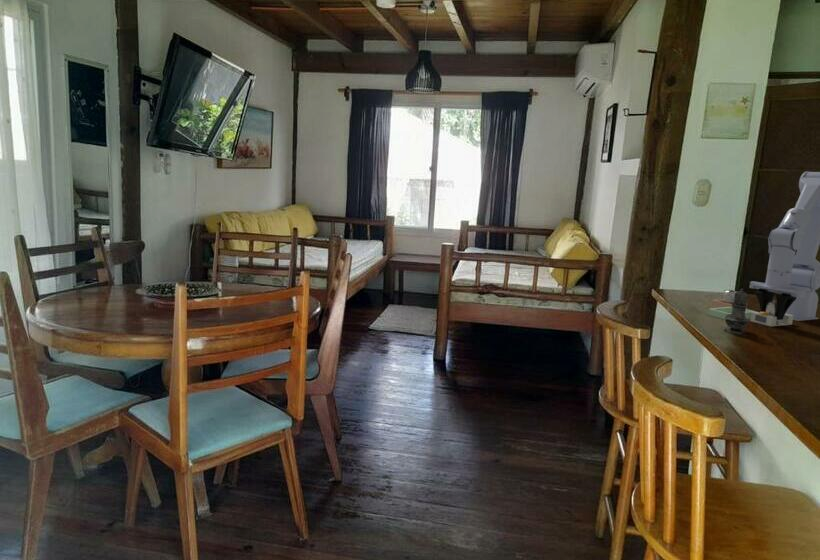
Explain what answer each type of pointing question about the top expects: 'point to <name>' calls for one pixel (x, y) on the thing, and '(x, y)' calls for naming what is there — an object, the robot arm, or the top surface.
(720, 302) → the cup
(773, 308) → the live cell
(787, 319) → the cradle
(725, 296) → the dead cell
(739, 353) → the top surface
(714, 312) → the trough
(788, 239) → the robot arm
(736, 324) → the grey chess piece
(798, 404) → the top surface
